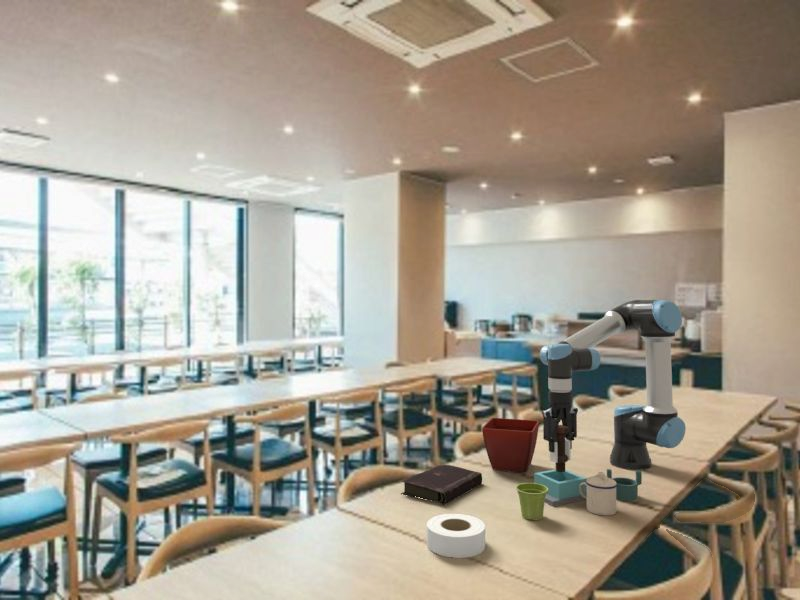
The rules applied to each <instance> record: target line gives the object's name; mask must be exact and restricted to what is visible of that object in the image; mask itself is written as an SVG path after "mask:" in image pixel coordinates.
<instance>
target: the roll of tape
mask: <svg viewBox="0 0 800 600" xmlns="http://www.w3.org/2000/svg"><path fill="white" fill-rule="evenodd" d="M426 546H427V549H429V550H430V551H431V552H433V553H434V554H436V553H437V554H436V555H438V554H439V556H441V557H447V558H451V557H453V558H455V559H464V558H471V557H475V556H478V555H480V554H481V553H483V552H484V550H485V549H486V524H485V523H484V522H483V521H482V520H481V519H479V518H477V517H475V516H472V515H468V514H461V513H445V514H439V515H434V516H432V517H431V518H429V519H428V520H427V522H426ZM453 558H452V559H453Z"/></svg>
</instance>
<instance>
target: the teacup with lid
mask: <svg viewBox="0 0 800 600" xmlns="http://www.w3.org/2000/svg"><path fill="white" fill-rule="evenodd" d="M586 478H587V480H586V482H583V483H581V484H580V485H579V491H580V493H581V495H582V496H583V497H584V498H586V499H585V500H586V509H587V511H589V512H590V513H592V514H594V515H598V516H606V517H607V516H613V515H615V514H616V513H617V499H616V487H617V483H616V481H615V480H613V479H611V478H608V477H607V475H605V472H602V471H599V472H597V474H596V475H593V476H590V477H586ZM583 485H587V495H585V494H584V492H583V489H582V486H583Z"/></svg>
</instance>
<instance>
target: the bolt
mask: <svg viewBox="0 0 800 600" xmlns="http://www.w3.org/2000/svg"><path fill="white" fill-rule="evenodd" d="M567 432H569V427H567V426H564V425H562V424H559V425H558V430H557V436H556V441H555V442H557V453H558V462H557V463H555V467H554V468H555V469H554V470H556V471H557V472H559V473H560V472H565V470H566V463H567V462H568V461H569V460H568V456H567V455H566V454H565V439H566V438H565V433H567Z"/></svg>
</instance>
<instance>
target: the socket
mask: <svg viewBox="0 0 800 600" xmlns="http://www.w3.org/2000/svg"><path fill="white" fill-rule="evenodd" d="M533 478H534V479H533V480H534V482H533V483H537V484H541V485H544V486H546V487H547V488H548V492H547V493H546V496H545V502H544V504H548V505H549V506H551V507H555V506H560V505H565V504H570V503H574V502H579V501H584V500H587V499H586V498H584V497H583V496H582V495H581V493H580V491H579V485H580V484H581V483H583V482H586V480H587V478H588V477H585V476H583V475H580V474H577V473H576V472H572V471H569V470H567V469H565V472H560V473H559V472H557V471H556V470H555V469H549V470H544V471H538V472H534V475H533ZM582 489H583V492H584V494H585V495H587V485H583V486H582Z"/></svg>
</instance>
